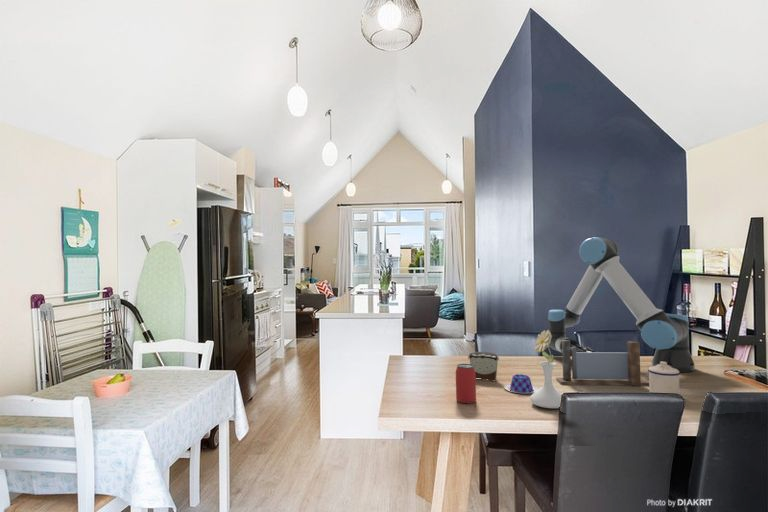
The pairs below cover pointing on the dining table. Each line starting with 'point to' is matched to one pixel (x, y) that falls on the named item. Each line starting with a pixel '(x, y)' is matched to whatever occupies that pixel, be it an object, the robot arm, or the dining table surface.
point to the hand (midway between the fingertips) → (596, 357)
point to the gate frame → (633, 379)
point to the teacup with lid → (663, 378)
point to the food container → (484, 364)
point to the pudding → (521, 384)
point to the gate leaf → (599, 365)
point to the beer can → (465, 383)
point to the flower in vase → (546, 376)
